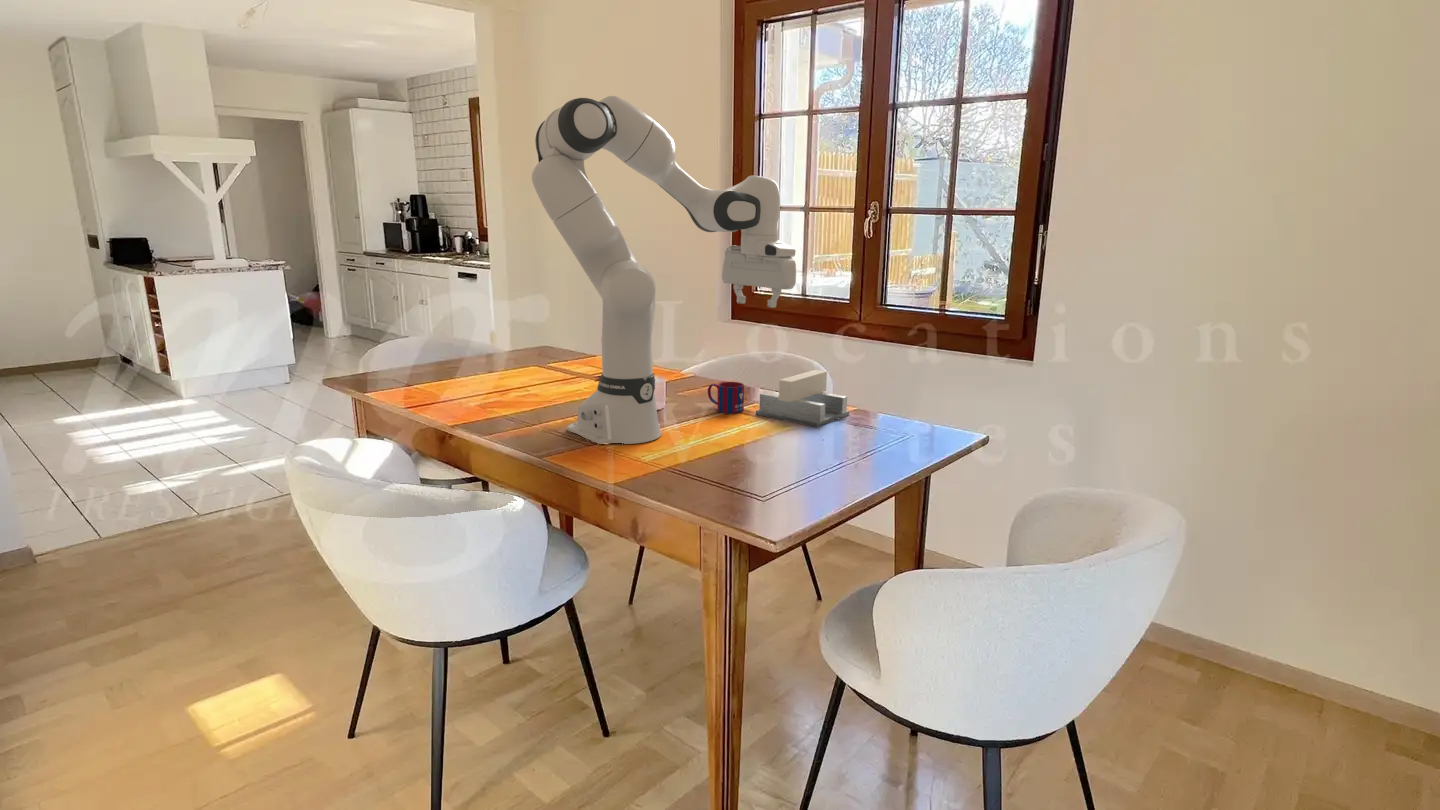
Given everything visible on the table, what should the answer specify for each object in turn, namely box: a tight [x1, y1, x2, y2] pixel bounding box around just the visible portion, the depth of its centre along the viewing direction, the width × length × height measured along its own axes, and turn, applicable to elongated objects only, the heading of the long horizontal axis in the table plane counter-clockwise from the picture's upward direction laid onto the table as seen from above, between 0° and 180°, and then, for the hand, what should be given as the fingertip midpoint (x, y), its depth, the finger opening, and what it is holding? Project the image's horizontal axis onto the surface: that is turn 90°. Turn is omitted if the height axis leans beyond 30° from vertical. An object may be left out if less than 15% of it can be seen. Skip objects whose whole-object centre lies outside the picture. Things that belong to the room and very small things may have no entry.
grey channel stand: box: [755, 391, 851, 428], centre depth 195 cm, size 18×15×5 cm
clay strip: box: [778, 369, 828, 402], centre depth 193 cm, size 4×16×5 cm, turn 141°
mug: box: [707, 381, 745, 415], centre depth 199 cm, size 7×10×7 cm
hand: (756, 305), depth 189 cm, fingers open, 8 cm apart
